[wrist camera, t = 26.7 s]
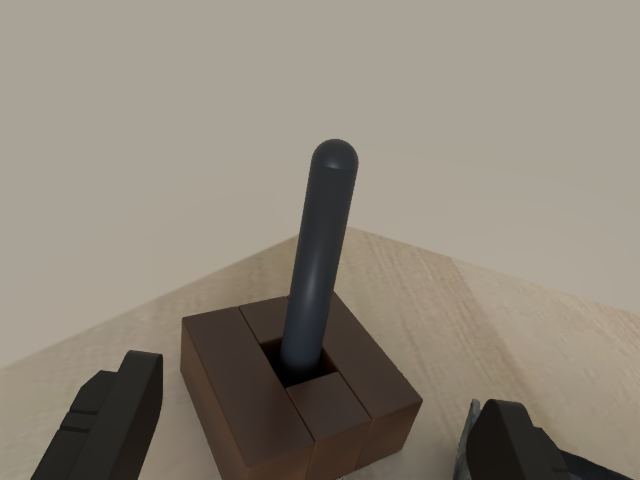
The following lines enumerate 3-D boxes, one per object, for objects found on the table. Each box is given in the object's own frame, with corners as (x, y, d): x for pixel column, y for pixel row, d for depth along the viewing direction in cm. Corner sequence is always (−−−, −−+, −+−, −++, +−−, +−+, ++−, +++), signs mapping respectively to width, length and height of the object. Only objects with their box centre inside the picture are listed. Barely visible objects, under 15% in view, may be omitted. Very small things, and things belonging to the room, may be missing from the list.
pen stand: (238, 523, 18) (247, 469, 16) (179, 370, 24) (181, 316, 22) (402, 450, 22) (424, 400, 20) (319, 333, 28) (330, 285, 26)
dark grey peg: (281, 429, 22) (331, 144, 17) (264, 402, 23) (306, 132, 18) (315, 418, 23) (372, 146, 18) (296, 394, 24) (345, 135, 19)
